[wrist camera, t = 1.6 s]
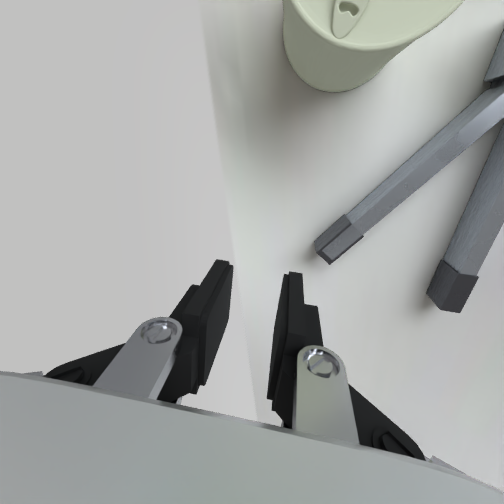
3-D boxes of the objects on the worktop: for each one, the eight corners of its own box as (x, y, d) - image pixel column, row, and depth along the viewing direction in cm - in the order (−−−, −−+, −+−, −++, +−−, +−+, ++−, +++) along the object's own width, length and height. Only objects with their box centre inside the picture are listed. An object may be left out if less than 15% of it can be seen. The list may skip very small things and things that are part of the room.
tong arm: (484, 88, 21) (513, 80, 18) (498, 105, 21) (528, 100, 18) (314, 241, 28) (316, 252, 25) (326, 252, 28) (329, 264, 25)
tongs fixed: (508, 16, 19) (549, -7, 16) (577, 22, 19) (633, -1, 16) (401, 288, 29) (414, 307, 26) (445, 296, 28) (464, 315, 25)
